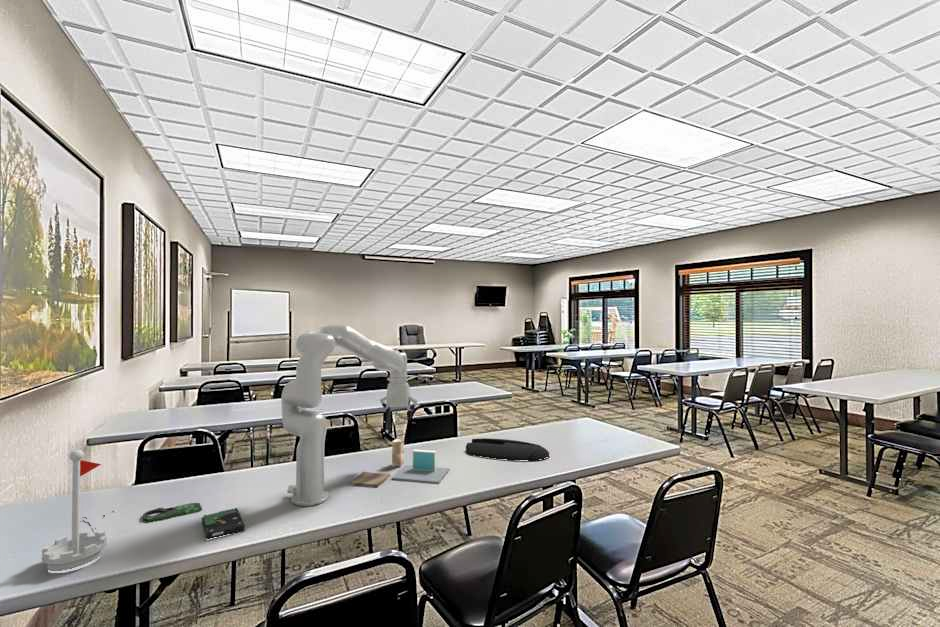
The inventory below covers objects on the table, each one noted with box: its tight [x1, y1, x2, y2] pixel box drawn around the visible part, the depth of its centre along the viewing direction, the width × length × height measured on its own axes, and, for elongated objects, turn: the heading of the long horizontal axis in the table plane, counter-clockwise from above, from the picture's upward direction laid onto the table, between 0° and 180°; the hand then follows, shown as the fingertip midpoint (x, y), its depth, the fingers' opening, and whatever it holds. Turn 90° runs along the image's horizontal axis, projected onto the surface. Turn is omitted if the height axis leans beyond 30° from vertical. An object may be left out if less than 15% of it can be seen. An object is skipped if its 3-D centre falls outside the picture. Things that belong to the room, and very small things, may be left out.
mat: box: [391, 464, 451, 485], centre depth 187 cm, size 20×16×1 cm
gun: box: [142, 502, 203, 523], centre depth 150 cm, size 16×2×10 cm
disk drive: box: [201, 507, 246, 539], centre depth 140 cm, size 10×3×15 cm
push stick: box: [391, 438, 405, 468], centre depth 198 cm, size 4×4×11 cm
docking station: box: [465, 437, 550, 460], centre depth 218 cm, size 25×41×5 cm, turn 70°
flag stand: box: [41, 449, 108, 571], centre depth 120 cm, size 13×13×30 cm
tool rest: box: [348, 471, 391, 488], centre depth 180 cm, size 12×12×1 cm
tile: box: [412, 449, 437, 471], centre depth 190 cm, size 10×2×8 cm, turn 77°
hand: (398, 418), depth 199 cm, fingers open, 9 cm apart
